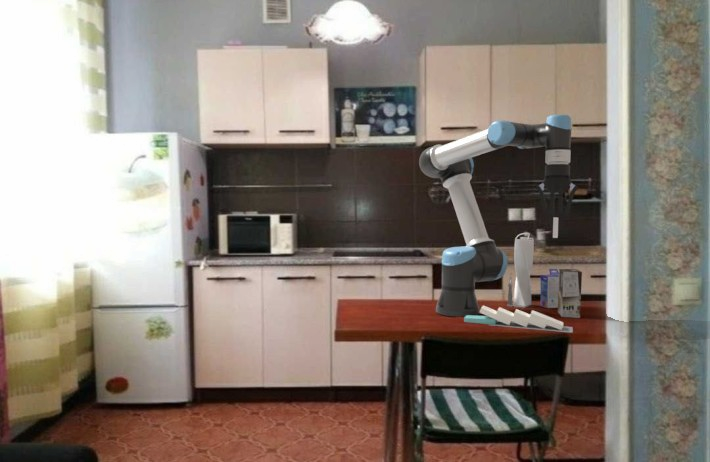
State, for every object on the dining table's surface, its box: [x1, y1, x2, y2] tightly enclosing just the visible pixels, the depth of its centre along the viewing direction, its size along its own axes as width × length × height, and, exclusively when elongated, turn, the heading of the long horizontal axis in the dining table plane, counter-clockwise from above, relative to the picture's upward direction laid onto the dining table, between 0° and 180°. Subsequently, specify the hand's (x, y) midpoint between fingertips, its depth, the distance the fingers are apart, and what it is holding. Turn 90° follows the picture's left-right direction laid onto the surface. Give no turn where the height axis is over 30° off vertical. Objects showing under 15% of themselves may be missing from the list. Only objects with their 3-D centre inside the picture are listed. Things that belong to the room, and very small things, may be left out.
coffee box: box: [557, 268, 583, 319], centre depth 194 cm, size 9×6×16 cm
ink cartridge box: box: [539, 268, 559, 309], centre depth 209 cm, size 10×6×14 cm, turn 104°
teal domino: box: [463, 315, 498, 325], centre depth 179 cm, size 2×5×10 cm
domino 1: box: [479, 304, 512, 325], centre depth 178 cm, size 2×5×10 cm
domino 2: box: [496, 306, 528, 327], centre depth 176 cm, size 2×5×10 cm
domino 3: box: [513, 308, 547, 329], centre depth 174 cm, size 2×5×10 cm
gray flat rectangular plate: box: [488, 320, 574, 334], centre depth 174 cm, size 25×8×1 cm, turn 69°
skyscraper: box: [506, 232, 535, 309], centre depth 211 cm, size 8×8×28 cm
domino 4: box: [529, 309, 564, 330], centre depth 172 cm, size 2×5×10 cm
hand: (555, 237), depth 177 cm, fingers closed
